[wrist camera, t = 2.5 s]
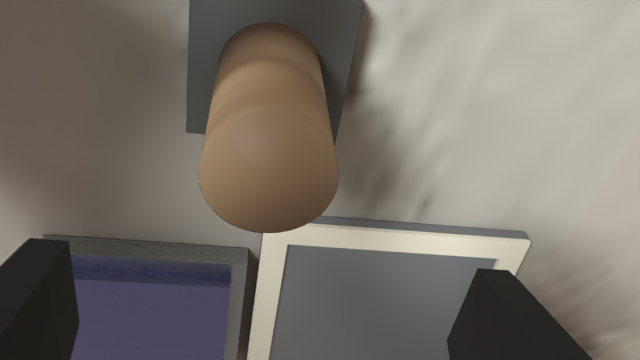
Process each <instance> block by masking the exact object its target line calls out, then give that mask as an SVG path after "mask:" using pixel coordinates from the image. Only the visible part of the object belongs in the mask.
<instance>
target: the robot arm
mask: <svg viewBox="0 0 640 360" xmlns="http://www.w3.org/2000/svg"><path fill="white" fill-rule="evenodd" d="M79 324H80V321H79V313H78V306H77V298H76V291H75V284H74V276H73V269H72V261H71V254H70V247H69V241H64V240H49V239H34V238H30V239H29V240H27V241H26V242H25V243H23V244H22V245H21V246H20V247H19V248H18V249H17V250H16V251H15V252H14V253H13V254H12V255H11V256H10V257H9V258H8V259H7V260H6V261H5V262H4V263H3V264H2V265H1V266H0V360H70V359H71V356H72V352H73V348H74V344H75V340H76V336H77V332H78V328H79ZM447 345H448V352H449V358H450V360H592V358H591V357H590V356H589V355H588V354H587V353H586V352H585V351H584V350H583V349H582V348H581V347H580V346H579V345H578V344H577V343H576V342H575V341H574V340H573V338H572V337H571V336H570V335H569V334H568V333H567V332H566V331H565V330H564V329H563V328H562V327H561V326H560V324H559V323H558V322H557V321H556V320H555V319H554V318H553V317H552V316H551V315H550V314H549V313H548V311H547V310H546V309H545V308H544V307H543V306H542V305H541V304H540V303H539V302H538V301H537V299H536V298H535V297H534V296H533V295H532V294H531V293H530V292H529V291H528V290H527V289H526V288H525V286H524V285H523V284H522V283H521V282H520V281H519V280H518V279H517V278H516V277H515V276H514V275H513V274H512V273H511V272H510V271H509V270H498V269H483V268H477V271H476V273H475V275H474V278H473V280H472V282H471V285H470V287H469V289H468V292H467V294H466V296H465V299H464V301H463V303H462V306H461V308H460V310H459V313H458V315H457V317H456V320H455V322H454V324H453V327H452V329H451V331H450V334H449V336H448V338H447Z"/></svg>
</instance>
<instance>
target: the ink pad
mask: <svg viewBox="0 0 640 360" xmlns="http://www.w3.org/2000/svg"><path fill="white" fill-rule="evenodd" d="M42 239H49V240H64V241H69V247H70V254H71V261H72V269H73V276H74V284H75V291H76V298H77V306H78V313H79V321H80V324H79V328H78V332H77V336H76V340H75V344H74V348H73V352H72V356H71V359H70V360H237V352H238V343H239V334H240V325H241V317H242V308H243V299H244V290H245V281H246V273H247V262H248V248H236V247H221V246H206V245H191V244H176V243H161V242H147V241H132V240H117V239H102V238H87V237H72V236H57V235H43V237H42Z"/></svg>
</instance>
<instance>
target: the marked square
mask: <svg viewBox="0 0 640 360" xmlns="http://www.w3.org/2000/svg"><path fill="white" fill-rule="evenodd" d="M530 244H531V242H530V240H529V238H528V237H527V235H526V233H525V232H521V231H508V230H495V229H482V228H469V227H456V226H443V225H430V224H417V223H404V222H391V221H378V220H365V219H352V218H339V217H326V216H318V217H317V218H316V219H314V220H313V221H311V222H310V223H308V224H306V225H304V226H302V227H299V228H297V229H294V230H290V231H286V232H280V233H262V239H261V247H260V255H259V262H258V270H257V278H256V286H255V293H254V301H253V309H252V317H251V324H250V332H249V340H248V348H247V355H246V360H450V358H449V352H448V345H447V338H448V336H449V334H450V331H451V329H452V327H453V324H454V322H455V320H456V317H457V315H458V313H459V310H460V308H461V306H462V303H463V301H464V299H465V296H466V294H467V292H468V289H469V287H470V285H471V282H472V280H473V278H474V275H475V273H476V271H477V268H483V269H498V270H509V271H510V272H511V273H512V274H513V275H514V276H515V274H516V272H517V270H518V268H519V266H520V264H521V262H522V260H523V258H524V256H525V254H526V252H527V250H528V248H529V246H530Z"/></svg>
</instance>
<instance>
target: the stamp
mask: <svg viewBox="0 0 640 360" xmlns="http://www.w3.org/2000/svg"><path fill="white" fill-rule="evenodd" d="M362 8H363V2H362V0H190V6H189V45H188V84H187V122H186V132H187V133H197V134H206V135H205V140H204V146H203V152H202V157H201V163H200V169H199V184H200V189H201V192H202V195H203V197H204V199H205V201H206V203H207V204H208V205H209V207H210V208H211V209H212V210H213V211H214V212H215V213H216V214H217V215H218V216H219V217H220V218H222V219H223V220H224V221H226V222H228V223H229V224H231V225H233V226H236V227H238V228H241V229H244V230H247V231H252V232H258V233H280V232H286V231H290V230H294V229H297V228H299V227H302V226H304V225H306V224H308V223H310V222H311V221H313V220H314V219H316V218H317V217H318V216H319V215H321V214H322V213H323V212H324V211H325V210H326V208H327V207H328V206H329V204H330V203H331V201H332V200H333V198H334V195H335V193H336V190H337V186H338V168H337V162H336V156H335V150H334V146H335V141H336V136H337V131H338V127H339V122H340V117H341V112H342V107H343V102H344V97H345V92H346V87H347V82H348V77H349V72H350V67H351V62H352V58H353V53H354V48H355V43H356V38H357V33H358V28H359V23H360V18H361V13H362Z"/></svg>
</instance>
